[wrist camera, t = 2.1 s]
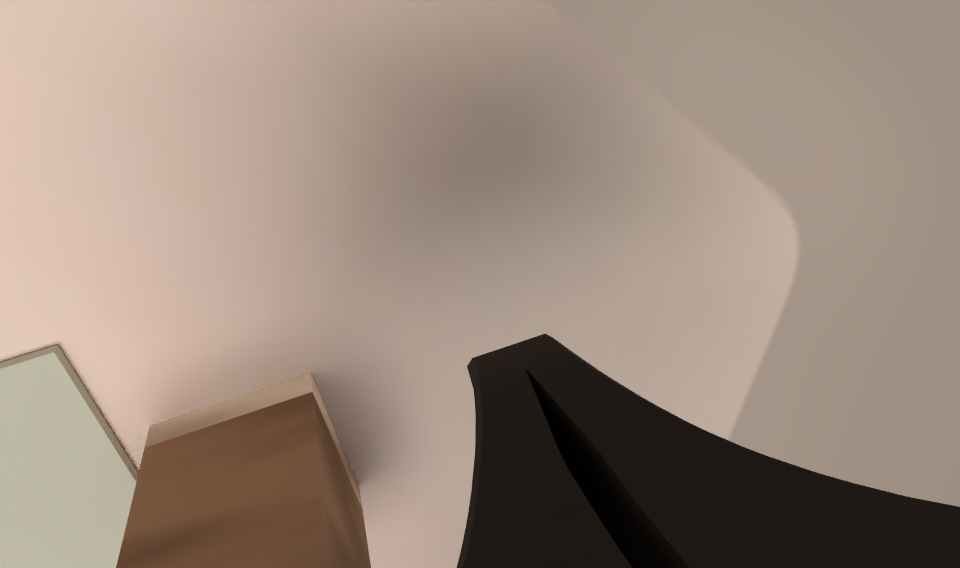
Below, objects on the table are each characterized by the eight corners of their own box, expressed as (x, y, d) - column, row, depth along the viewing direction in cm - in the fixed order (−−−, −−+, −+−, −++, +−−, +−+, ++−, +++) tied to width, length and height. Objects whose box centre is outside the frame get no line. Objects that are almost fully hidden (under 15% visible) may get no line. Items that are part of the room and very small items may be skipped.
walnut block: (358, 487, 25) (397, 747, 17) (215, 537, 24) (188, 829, 17) (311, 373, 23) (330, 617, 15) (149, 426, 22) (82, 708, 14)
